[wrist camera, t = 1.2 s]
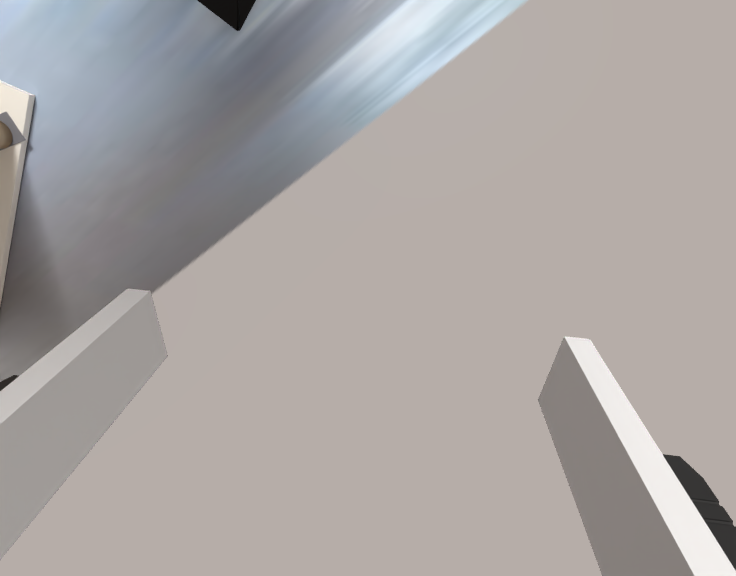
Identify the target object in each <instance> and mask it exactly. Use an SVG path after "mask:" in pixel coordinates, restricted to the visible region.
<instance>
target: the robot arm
mask: <svg viewBox="0 0 736 576" xmlns="http://www.w3.org/2000/svg"><path fill="white" fill-rule="evenodd" d="M167 356H168V355H167V352H166V348H165V344H164V340H163V337H162V333H161V329H160V325H159V322H158V318H157V314H156V310H155V307H154V303H153V300H152V295H151V292H150V291H146V290H137V289H126V290H125V291H124V292H123V293H121V294H120V295H119V296H118V297H116V298H115V299H114V300H113V301H111V302H110V303H109V304H108V305H107V306H105V307H104V308H103V309H102V310H100V311H99V312H98V313H97V314H95V315H94V316H93V317H92V318H90V319H89V320H88V321H87V322H85V323H84V324H83V325H82V326H81V327H79V328H78V329H77V330H76V331H74V332H73V333H72V334H71V335H69V336H68V337H67V338H66V339H64V340H63V341H62V342H61V343H60V344H58V345H57V346H56V347H55V348H53V349H52V350H51V351H50V352H48V353H47V354H46V355H45V356H43V357H42V358H41V359H40V360H39V361H37V362H36V363H35V364H34V365H32V366H31V367H30V368H29V369H27V370H26V371H25V372H24V373H22V374H21V375H20V376H17V375H13V376H11V377H9V378H7V379H6V380H4V381H2V382H0V560H1V558H2V557H3V556H4V555H5V553H6V552H7V551H8V550H9V548H10V547H11V546H12V545H13V544H14V543H15V541H16V540H17V539H18V538H19V537H20V535H21V534H22V533H23V532H24V530H25V529H26V528H27V527H28V526H29V524H30V523H31V522H32V521H33V519H34V518H35V517H36V516H37V515H38V513H39V512H40V511H41V510H42V509H43V507H44V506H45V505H46V504H47V502H48V501H49V500H50V499H51V498H52V496H53V495H54V494H55V493H56V491H57V490H58V489H59V488H60V487H61V485H62V484H63V483H64V482H65V481H66V479H67V478H68V477H69V476H70V474H71V473H72V472H73V471H74V469H75V468H76V467H77V466H78V464H79V463H80V462H81V461H82V460H83V459H84V457H85V456H86V455H87V454H88V453H89V451H90V450H91V449H92V447H93V446H94V445H95V444H96V443H97V442H98V440H99V439H100V438H101V437H102V435H103V434H104V433H105V432H106V431H107V429H108V428H109V427H110V426H111V425H112V423H113V422H114V420H116V418H117V417H118V416H119V415H120V414H121V412H122V411H123V410H124V409H125V407H126V406H127V405H128V404H129V403H130V401H131V400H132V399H133V398H134V396H135V395H136V394H137V393H138V392H139V390H140V389H141V388H142V387H143V386H144V384H145V383H146V382H147V381H148V379H149V378H150V377H151V376H152V374H153V373H154V372H155V371H156V370H157V368H158V367H159V366H160V365H161V363H162V362H163V361H164V360H165V359H166V357H167ZM538 401H539V404H540V407H541V409H542V412H543V415H544V418H545V421H546V423H547V426H548V429H549V431H550V434H551V437H552V440H553V442H554V445H555V448H556V451H557V453H558V456H559V459H560V462H561V464H562V467H563V469H564V472H565V475H566V478H567V481H568V483H569V486H570V489H571V491H572V494H573V497H574V499H575V502H576V505H577V508H578V510H579V513H580V516H581V519H582V521H583V524H584V527H585V530H586V532H587V535H588V538H589V540H590V543H591V546H592V549H593V552H594V554H595V557H596V560H597V562H598V565H599V568H600V571H601V573H602V576H736V527H734V526H733V521H732V519H731V518H730V517H729V515H728V514H727V512H726V511H725V509H724V508H723V507H722V506H720V505H719V501H718V499H717V498H716V496H715V495H714V493H713V492H712V491H711V489H710V488H709V486H708V485H707V483H706V482H705V480H704V479H703V478H702V477H701V476H700V475H699V474H698V473H697V472H696V471H695V470H694V469H693V468H692V467H691V466H690V465H688V464H687V463H686V462H685V461H684V460H683V459H682V458H681V457H680V456H672V455H664V454H662V453H661V451H660V450H659V448H658V447H657V445H656V444H655V442H654V440H653V439H652V437H651V436H650V434H649V432H648V431H647V429H646V428H645V426H644V424H643V423H642V421H641V420H640V418H639V417H638V415H637V413H636V412H635V410H634V409H633V407H632V406H631V404H630V402H629V401H628V399H627V397H626V396H625V394H624V393H623V391H622V390H621V388H620V387H619V385H618V383H617V382H616V380H615V379H614V377H613V375H612V374H611V372H610V370H609V369H608V367H607V366H606V364H605V363H604V361H603V360H602V358H601V356H600V355H599V353H598V351H597V350H596V348H595V347H594V345H593V344H592V342H591V340H590V339H583V338H574V337H564V338H563V341H562V343H561V346H560V348H559V350H558V353H557V355H556V358H555V360H554V362H553V365H552V367H551V370H550V372H549V374H548V377H547V379H546V382H545V384H544V386H543V389H542V392H541V394H540V396H539V399H538Z"/></svg>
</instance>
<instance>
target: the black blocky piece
mask: <svg viewBox="0 0 736 576" xmlns="http://www.w3.org/2000/svg"><path fill="white" fill-rule="evenodd" d="M198 1H199V2H200V3H202V4H203V5H204V6H206V7H207V8H208V9H209V10H211V11H212V12H213V13H215V14H216V15H217V16H219V17H220V18H221V19H222V20H224V21H225V22H226V23H228V24H229V25H230V26H232V27H233V28H234V29H235V30H237V31H239V30H240V29H241V27H242V26H243V24H244V22H245V20H246V18H247V16H248V14H249V12H250V10H251V8H252V6H253V5H254V3H255V1H256V0H198Z"/></svg>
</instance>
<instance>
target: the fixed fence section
mask: <svg viewBox="0 0 736 576" xmlns="http://www.w3.org/2000/svg"><path fill="white" fill-rule="evenodd" d="M12 139H13V138H12V133H11V131H10V129H9V128H8V126H7V125H6V124H5V123H3V122H2V121H0V149H3V148H7V147H9V146H10V145H11V143H12Z"/></svg>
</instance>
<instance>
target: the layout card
mask: <svg viewBox="0 0 736 576" xmlns="http://www.w3.org/2000/svg"><path fill="white" fill-rule="evenodd" d="M34 99H35V95H33V94H31V93H28V92H26V91H24V90H21V89H19V88H17V87H14V86H12V85H10V84H7V83H5V82H3V81H0V121H2V122H3V123H5V124H6V125H7V126H8V128H9V129H10V131H11V133H12V138H13V139H12V143H11V145H10V146H9V147H7V148H3V149H0V306H1V300H2V293H3V287H4V281H5V275H6V269H7V263H8V257H9V251H10V245H11V239H12V233H13V227H14V221H15V215H16V208H17V202H18V196H19V190H20V184H21V178H22V172H23V166H24V160H25V154H26V148H27V142H28V136H29V129H30V123H31V117H32V111H33V105H34Z"/></svg>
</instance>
